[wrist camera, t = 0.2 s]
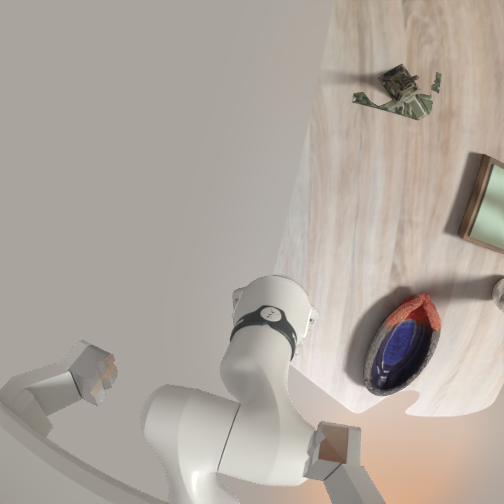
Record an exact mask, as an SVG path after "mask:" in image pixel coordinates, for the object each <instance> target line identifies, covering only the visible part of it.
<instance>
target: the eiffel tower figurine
mask: <svg viewBox="0 0 504 504" xmlns="http://www.w3.org/2000/svg"><path fill="white" fill-rule="evenodd" d="M378 79H379V80H380V81H381V83H382V84H383V86H384V87H385V88H386V90H387V91H388V93H389V94H390V96H391V97H392V100H391V101H390V102H388V103H386V104H383V105H381V106H377V105H376V104H374V103H372V102H371V101H370V100H369V99H368V97H367V96H366V95H365V94H364V92H360V93H355V94H354V96H353V102H354V103H358V104H362V105H366V106H370V107H374V108H377V109H381V110H385V111H389V112H392V113H396V114H399V115H403V116H406V117H409V118H412V119H415V120H420V119H421V118H423V117H424V116H426V115H428V114H429V113H430V111H431V110H432V104H433V102H432V99H431V95H430V96H428V95H425V94H414V93H416V92H418V91H419V90H420V89H419V87H418V86H417V84H416V83H415V81H414V80H417V79H419V78H418V76H417V75H415V76H413V77H411V75H410V74H409V73H408V71H407V70H406V68H405V67H404V66H403V64H401V65H399V66H397V67H395V68H394V69H392V70H391V71H389V72H387V73H386V74H384V75H382V76H381V77H379V78H378ZM440 81H441V74H440V73H438V72H436V80H435V81H434V83H435V84H433V85H432V86H431V90H433V91H436V92H437V93H438V94H439V88H440Z"/></svg>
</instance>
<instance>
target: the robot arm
mask: <svg viewBox="0 0 504 504" xmlns="http://www.w3.org/2000/svg"><path fill="white" fill-rule="evenodd" d="M233 307H234V311H233V314H232V317H233V320H234V321H233V322H234V328H233V330H232V333H231V337H230V344H229V346H228V349H227V351H226V353H225V355H224V357H223V360H222V362H221V365H220V375H221V379H222V381H223V383H224V385H225V387H226V389H227V390H228V392H229V393H230V394H231V395H233V396H234V397H235V398H236V399H237V400H238V401H239V402H240V403H238V402H235V401H232V400H229V399H226V398H222V397H219V396H216V395H213V394H210V393H207V392H204V391H202V390H199V389H194V388H188V387H183V386H175V385H169V384H166V385H164V386H162V387H160V388H158V389H156V390H155V391H154V392H152V394H150V396H149V397H148V398H147V400H146V401H145V403H144V405H143V407H142V411H141V417H140V421H141V428H142V432H143V435H144V437H145V439H146V440H147V441H148V442H149V444H150V445H151V446H152V448H153V449H154V451H155V452H156V454H157V455H158V457H159V459H160V461H161V463H162V466H163V468H164V470H165V473H166V477H167V481H168V486H169V495H168V502H165V501H163V500H160V499H158V498H155V497H153V496H150V495H148V494H146V493H144V492H141V491H139V490H137V489H135V488H133V487H131V486H129V485H127V484H124V483H122V482H120V481H118V480H116V479H114V478H112V477H111V476H109V475H107V474H105V473H103V472H101V471H99V470H98V469H96V468H94V467H92V466H91V465H89V464H87V463H85V462H84V461H82V460H80V459H79V458H77V457H75V456H74V455H72V454H70V453H69V452H67V451H66V450H64V449H63V448H61V447H60V446H58V445H57V444H55V443H54V442H52V441H51V440H49V439H48V438H46V436H47V435H48V433H49V432H50V430H51V429H52V424H51V422H50V420H49V419H48V417H47V416H48V415H50V414H52V413H54V412H56V411H58V410H60V409H62V408H65V407H66V406H69V405H71V404H73V403H75V402H77V401H79V400H81V398H82V399H84V400H86V401H88V402H90V403H92V404H94V405H96V406H99V404H100V403H101V401H102V400H103V398H104V397H105V396H106V392H105V390H106V389H109V388H111V387H112V386H113V384H114V383H115V381H116V378H117V367H116V366H115V365H114V363H113V362H114V361H115V359H114V355H113V354H111V353H109V352H106V351H104V350H102V349H100V348H98V347H96V346H94V345H92V344H90V343H88V342H86V341H84V340H81V341H79V342H78V343H77V344H76V345H75V346H74V347H73V348H72V349H71V350H70V352H69V353H68V354H67V355H66V356H65V357H64V358H63V359H62V360H61V362H60V363H59V364H57V363H54V364H51V365H48V366H45V367H42V368H39V369H36V370H33V371H29V372H26V373H23V374H20V375H17V376H14V377H12V378H11V379H10V380H9V381H8V382H7V383H6V384H5V385H4V386H3V387H2V389H1V390H0V504H241V503H240V501H239V500H238V498H237V497H236V496H235V494H234V493H233V492H231V490H229V489H228V488H227V487H226V486H224V485H223V484H222V483H221V482H220V481H219V480H218V478H217V476H216V474H215V472H216V473H217V472H219V473H222V474H225V475H229V476H232V477H236V478H239V479H243V480H246V481H250V482H254V483H258V484H262V485H274V486H298V485H299V484H301V483H303V482H304V481H306V480H307V479H308V478H310V479H316V480H321V481H324V485H325V487H326V490H327V492H328V494H329V497H330V499H331V502H332V504H386V503H385V501H384V500H383V498H382V496H381V495H380V493H379V491H378V490H377V488H376V486H375V485H374V483H373V481H372V480H371V478H370V477H369V475H368V473H367V471H366V470H365V468H364V466H360V454H361V428H359V427H354V426H347V425H342V424H336V423H330V422H324V421H321V422H320V423H319V425H318V429H317V430H316V429H315V427H313V426H312V425H311V424H310V423H308V422H307V421H306V420H305V419H304V418H303V417H302V415H301V414H300V413H299V412H298V410H297V409H296V407H295V406H294V404H293V402H292V400H291V398H290V395H289V392H288V387H287V379H288V371H289V365H290V361H291V360H292V358H293V356H294V354H295V355H298V354H299V353H300V350H301V347H302V346H301V345H300V344H302V345H303V343H304V341H305V337H306V336H307V334H308V333H309V331H310V330H311V328H312V327H313V325H314V324H315V322H316V321H317V319H318V316H319V313H318V311H317V310H316V309H315V308H314V307H313V306H312V305H311V304H310V302H309V299H308V297H307V295H306V293H305V292H304V290H303V289H302V288H301V287H300V286H299V285H297V284H296V283H295V282H293V281H291V280H289V279H287V278H284V277H279V276H265V277H261V278H258V279H256V280H254V281H253V282H252V283H250V284H249V285H248V286H246V287H244V288H239V289H237V290H235V291H234V293H233ZM310 319H312V320H310Z"/></svg>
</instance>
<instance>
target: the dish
mask: <svg viewBox="0 0 504 504" xmlns="http://www.w3.org/2000/svg"><path fill="white" fill-rule="evenodd" d="M429 299H430V296H429V295H428V294H427V293H425V294H423V293H419V294H418V297H417V296H413V297H410V298H408V299H407V300H405V301H404V302H403V303H402V304H401V305H400V306H398V307H397V308H396V309H395V310H394V311H392V312H391V313H390V314H389V315H388V316H387V317H386V319H385V320H384V321H383V323H382V324H381V326H380V327H379V329H378V331H377V333H376V335H375V337H374V339H373V341H372V343H371V345H370V348H369V350H368V353H367V356H366V360H365V365H364V375H363V376H364V383H365V386H366V388H367V389H368V390H369V391H370V392H371V393H372V394H374V395H377V396H387V395H391V394H394V393H396V392H398V391H400V390H402V389H403V388H405V387H406V386H408V385H409V384H410V383H411V382H412V381H413V380H415V379H416V378H417V376H418V375H419V374H420V373H421V372H422V371H423V369H424V368H425V367H426V365H427V364H428V362H429V360H430V359H431V357H432V355H433V353H434V351H435V348H436V346H437V343H438V341H439V337H440V331H441V322H440V318H439V315H438V313H437V310H436V308H435V306H434V304H433V303H432V302H431V301H430V300H429Z"/></svg>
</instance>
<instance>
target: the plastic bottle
mask: <svg viewBox="0 0 504 504" xmlns="http://www.w3.org/2000/svg"><path fill="white" fill-rule="evenodd" d="M492 298H493V301H494V303H495V305H496V306H497V307H498V308H499V309H501V311H502V312H503V313H504V278H503V279H501V280H499V281H498V282H497V283H496V284H495V286H494V288H493V292H492Z"/></svg>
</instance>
